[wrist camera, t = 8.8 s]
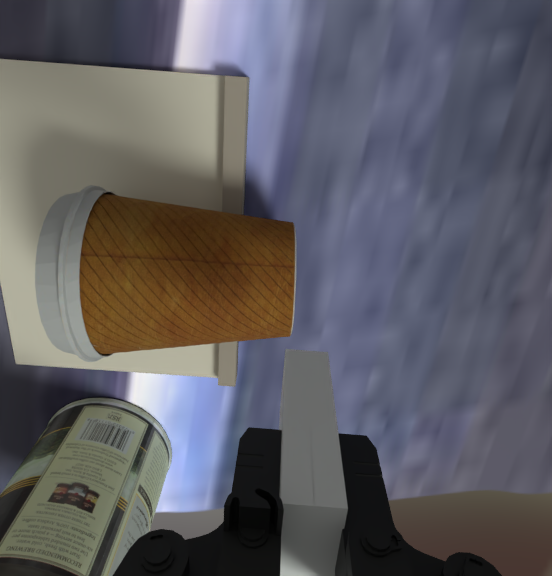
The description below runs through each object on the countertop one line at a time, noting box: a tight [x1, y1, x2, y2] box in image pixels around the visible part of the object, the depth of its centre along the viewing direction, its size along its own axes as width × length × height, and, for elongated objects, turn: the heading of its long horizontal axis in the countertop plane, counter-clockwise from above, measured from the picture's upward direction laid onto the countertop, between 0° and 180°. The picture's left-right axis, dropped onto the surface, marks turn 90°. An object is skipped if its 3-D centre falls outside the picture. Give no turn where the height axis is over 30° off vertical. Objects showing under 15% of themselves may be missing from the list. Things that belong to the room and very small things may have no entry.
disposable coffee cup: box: [35, 185, 296, 362], centre depth 25 cm, size 10×10×12 cm
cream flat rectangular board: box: [0, 59, 249, 386], centre depth 29 cm, size 16×20×2 cm
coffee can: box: [0, 398, 172, 576], centre depth 31 cm, size 10×10×14 cm
